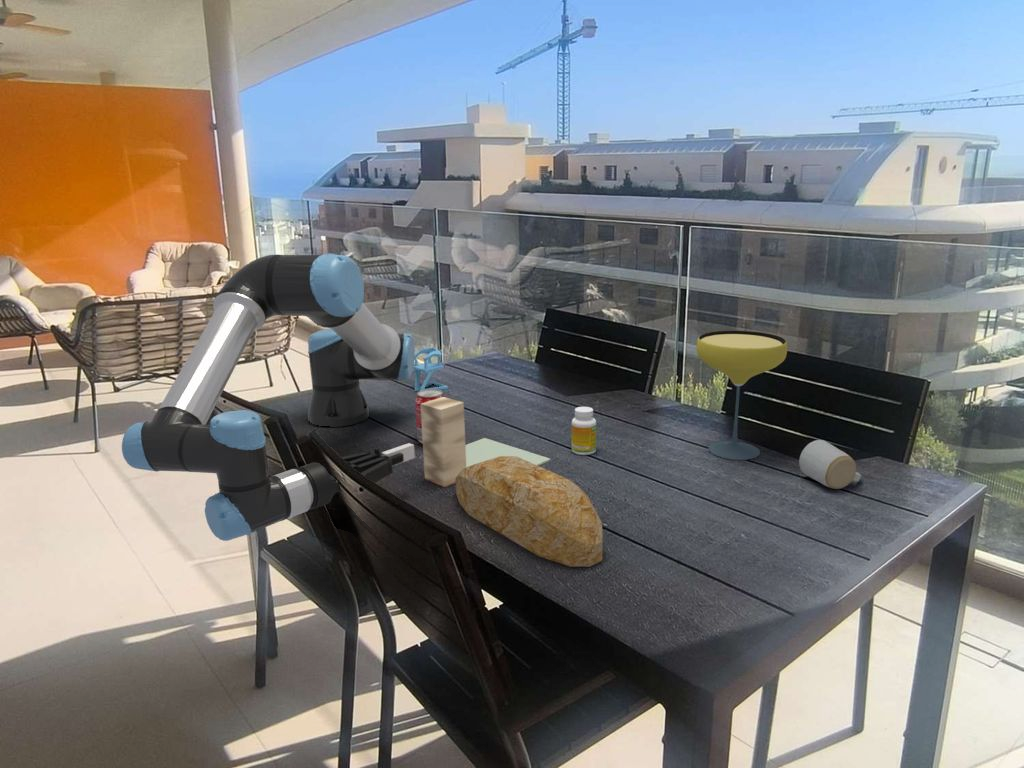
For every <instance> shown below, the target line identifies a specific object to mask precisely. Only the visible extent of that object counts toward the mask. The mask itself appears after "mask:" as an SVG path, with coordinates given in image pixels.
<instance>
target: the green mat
mask: <svg viewBox="0 0 1024 768" xmlns="http://www.w3.org/2000/svg"><path fill="white" fill-rule="evenodd" d="M465 446H466V467H469V466H471V465H474V464H477V463H480V462H483V461H486V460H490V459H493V458H496V457H499V456H517V457H519V458H521V459H524V460H526V461H528V462H531V463H533V464H535V465H537V466H542V465H544V464H546V463H549V462H550V461H551V458H549V457H547V456H543V455H540V454H536V453H534V452H530V451H528V450H524V449H520V448H518V447H515V446H511V445H508V444H506V443H502V442H499V441H496V440H492V439H489V438H486V437H483V438H481V439H478V440H475V441H473V442H470V443H467V444H465Z"/></svg>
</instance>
